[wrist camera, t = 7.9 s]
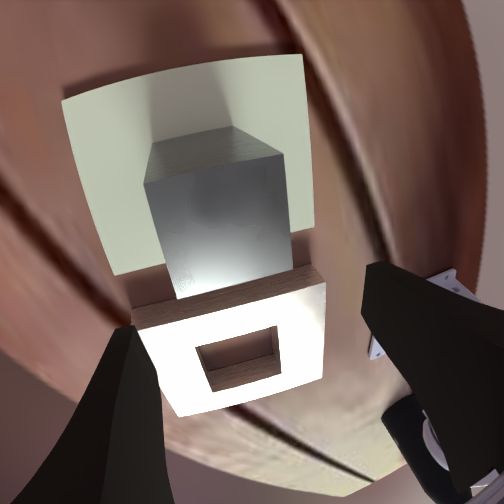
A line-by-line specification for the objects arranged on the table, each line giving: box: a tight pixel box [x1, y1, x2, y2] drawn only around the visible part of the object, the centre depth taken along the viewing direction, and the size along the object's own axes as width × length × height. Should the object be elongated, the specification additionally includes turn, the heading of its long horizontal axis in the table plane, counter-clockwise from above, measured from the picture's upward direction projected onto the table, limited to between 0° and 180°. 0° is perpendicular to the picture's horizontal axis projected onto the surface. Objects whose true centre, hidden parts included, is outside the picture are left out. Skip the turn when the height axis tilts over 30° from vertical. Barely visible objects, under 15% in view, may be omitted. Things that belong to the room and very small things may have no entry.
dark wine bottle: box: [381, 395, 473, 504], centre depth 27 cm, size 6×6×30 cm
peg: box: [143, 126, 293, 299], centre depth 12 cm, size 4×4×7 cm
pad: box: [61, 54, 314, 276], centre depth 15 cm, size 12×10×1 cm
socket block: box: [131, 264, 326, 417], centre depth 21 cm, size 12×10×2 cm
